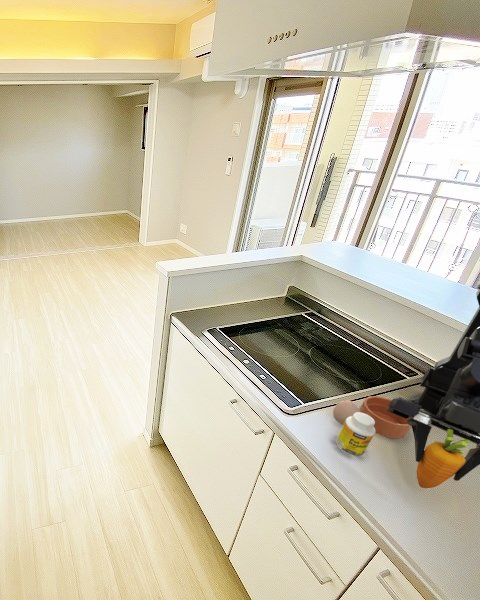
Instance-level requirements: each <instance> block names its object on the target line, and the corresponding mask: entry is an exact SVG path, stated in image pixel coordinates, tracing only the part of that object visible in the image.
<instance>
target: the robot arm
mask: <svg viewBox="0 0 480 600" xmlns="http://www.w3.org/2000/svg"><path fill="white" fill-rule="evenodd" d="M475 289H476V290H477V291H476V300H477V303H478V307H477V310H476V311H475V313H474V315H473V316H472V318H471V320H470V321H469V323H468V325H467V326H466V328H465V330H464V332H463V333H462V335H461V337H460V338H459V340H458V342H457V343H456V346H455V347H454V349H453V350H452V352H451V354H450V356H447V357H445V358H443V359H440V360H437V361H436V363H435V365H434V367H429V368H428V369H427V370H426V371H425V373H424V374H423V376H422V378H421V380H420V381H421V382H420V385H419V386H420V387H423V388H424V390H423V391H422V393H421V394H420V396H417V397H415V398H413V399H411V401H410V400H407V399H405V398H402V397H400V396H397V397H394V398H392V399H391V400H392V401H391V402H390V404H389V406H388V409H387V411H389V412H390V413H393V414H395V415H397V416H400V417H402V418H405V419H408V418H410V419H409V420H407V421H406V424H408V425H410V426H412V428H411V430H412V435H413V440H414V454H415V457H414V458H415V462H417V463H418V462H420V460H421V458H422V456H423V453H424V451H425V449H426V447H427V446H426V445H427V442H428V438H429V436H430V432H431V430H432V428H433V427H435V428H437V429H440V430H442V431H444V432H447V430H448V429H452V430H453V436H456V437H459V438H461V439H462V440H466V439H468V440H470V441H471V442H470V443H473V444H476V445H475V447H473V448H470V449H469V450H468V451H467V453H466V455H465V456H464V458H465V460H466V461H465V463H464V465H463V466H462V467H461V468H460V469H459V470H458V471H457V472H456V473H455V474H454V475H453V480H454V481H456V482H458V481H460V480H461V479H463V478H464V477H465V476H467V474H469V473H470V472H472V471H473V470H474V469H476V468H477V467H478V466H480V279H478V281H477V283H476V285H475ZM421 409H423V410H425V411H426V412H425V411H422V410H421ZM427 412H428V413H427Z"/></svg>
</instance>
